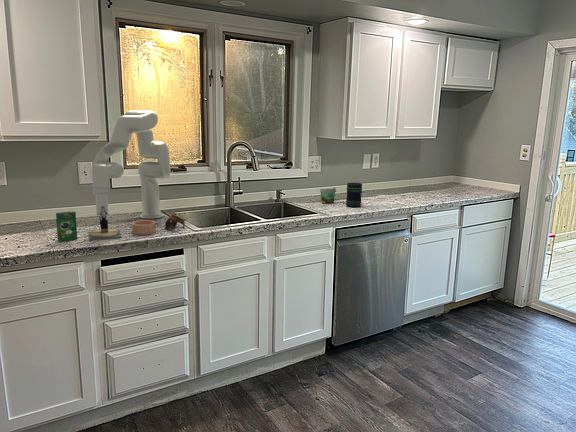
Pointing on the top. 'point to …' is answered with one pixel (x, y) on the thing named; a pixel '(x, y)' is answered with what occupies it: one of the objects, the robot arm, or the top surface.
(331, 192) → the food container
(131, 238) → the top surface
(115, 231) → the lid
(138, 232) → the bowl
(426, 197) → the top surface
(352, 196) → the storage jar
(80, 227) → the top surface
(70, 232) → the coffee box
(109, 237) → the mat
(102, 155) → the robot arm
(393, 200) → the top surface
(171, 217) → the pottery mug
